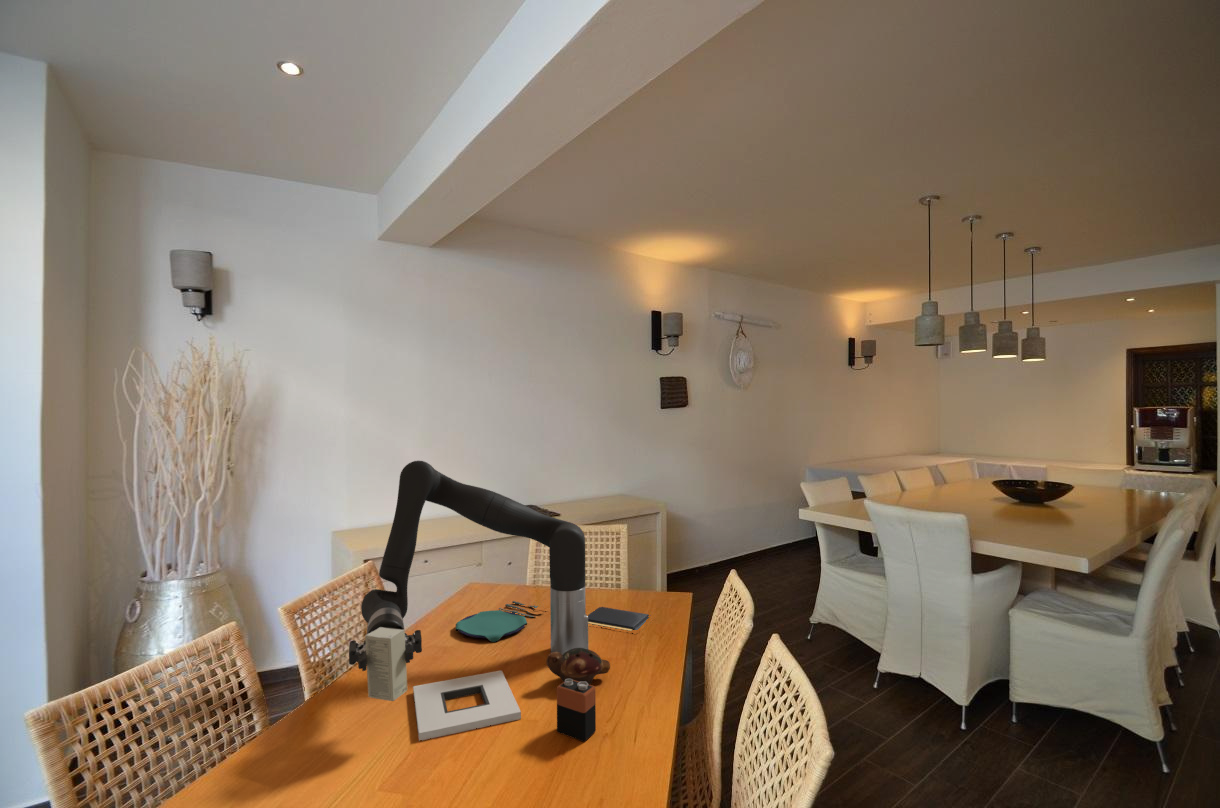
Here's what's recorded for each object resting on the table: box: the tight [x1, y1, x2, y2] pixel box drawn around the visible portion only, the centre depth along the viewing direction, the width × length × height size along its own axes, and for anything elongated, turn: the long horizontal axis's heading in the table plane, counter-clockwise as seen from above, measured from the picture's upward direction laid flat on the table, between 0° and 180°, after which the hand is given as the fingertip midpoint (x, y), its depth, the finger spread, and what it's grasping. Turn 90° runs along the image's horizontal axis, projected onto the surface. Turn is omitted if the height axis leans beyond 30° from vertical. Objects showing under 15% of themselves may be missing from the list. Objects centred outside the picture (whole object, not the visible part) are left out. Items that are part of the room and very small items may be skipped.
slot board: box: [412, 670, 522, 742], centre depth 122 cm, size 20×20×2 cm
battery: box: [556, 679, 597, 742], centre depth 112 cm, size 4×7×10 cm, turn 59°
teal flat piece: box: [455, 600, 538, 643], centre depth 169 cm, size 20×30×2 cm, turn 150°
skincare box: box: [364, 627, 408, 702], centre depth 110 cm, size 6×4×12 cm
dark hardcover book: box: [587, 606, 649, 631], centre depth 170 cm, size 20×2×15 cm
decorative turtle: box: [546, 648, 611, 685], centre depth 132 cm, size 10×15×8 cm, turn 112°
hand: (386, 661), depth 108 cm, fingers closed on skincare box, 7 cm apart
